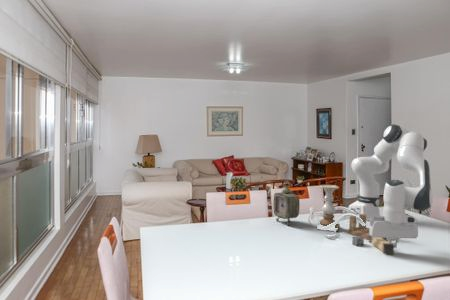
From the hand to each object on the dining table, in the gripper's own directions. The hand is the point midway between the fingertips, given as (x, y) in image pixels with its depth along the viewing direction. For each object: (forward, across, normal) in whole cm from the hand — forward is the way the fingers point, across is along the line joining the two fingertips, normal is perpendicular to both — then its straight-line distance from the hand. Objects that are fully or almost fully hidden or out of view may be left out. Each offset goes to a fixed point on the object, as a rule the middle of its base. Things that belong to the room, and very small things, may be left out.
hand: (392, 247), depth 147 cm
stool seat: (+2, -2, +23) cm, 23 cm away
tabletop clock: (+2, -41, +45) cm, 61 cm away
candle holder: (+2, -19, +36) cm, 40 cm away
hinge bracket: (+2, -3, +12) cm, 13 cm away
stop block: (+2, -12, +9) cm, 15 cm away
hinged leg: (+2, -3, +4) cm, 6 cm away
